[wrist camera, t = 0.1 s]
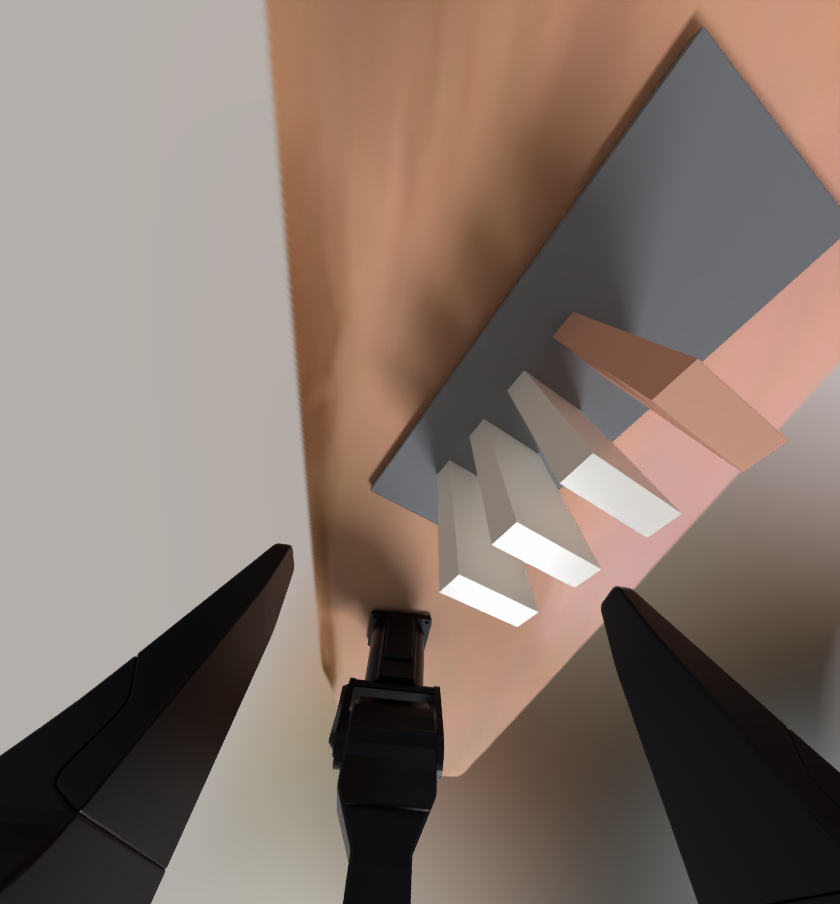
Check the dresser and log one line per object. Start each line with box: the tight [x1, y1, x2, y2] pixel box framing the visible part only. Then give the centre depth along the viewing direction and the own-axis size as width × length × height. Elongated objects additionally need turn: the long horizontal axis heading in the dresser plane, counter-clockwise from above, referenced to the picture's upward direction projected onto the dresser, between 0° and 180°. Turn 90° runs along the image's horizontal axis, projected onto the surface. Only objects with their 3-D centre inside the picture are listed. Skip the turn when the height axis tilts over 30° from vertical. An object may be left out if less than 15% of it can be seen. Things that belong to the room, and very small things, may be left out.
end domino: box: [553, 312, 789, 472], centre depth 15 cm, size 2×5×10 cm, turn 57°
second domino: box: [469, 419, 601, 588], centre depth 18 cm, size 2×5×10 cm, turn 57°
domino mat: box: [370, 27, 840, 525], centre depth 21 cm, size 28×12×1 cm, turn 147°
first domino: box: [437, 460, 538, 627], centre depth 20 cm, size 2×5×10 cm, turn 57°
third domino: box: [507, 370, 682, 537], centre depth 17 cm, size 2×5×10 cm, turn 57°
